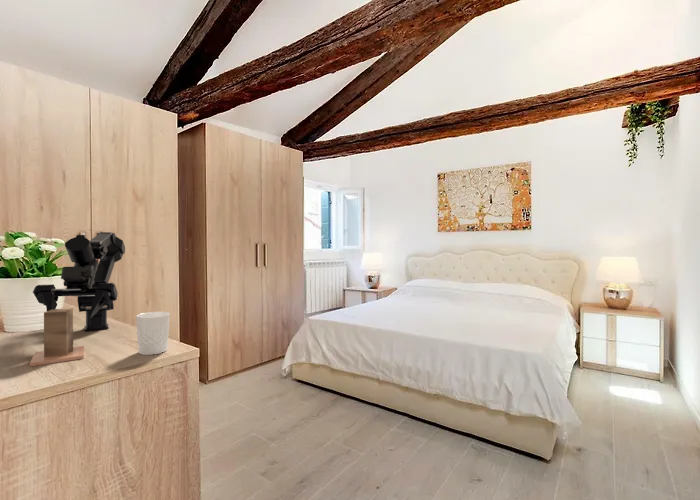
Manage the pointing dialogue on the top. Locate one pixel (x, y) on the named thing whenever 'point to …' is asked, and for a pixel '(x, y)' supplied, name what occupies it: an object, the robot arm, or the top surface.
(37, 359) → the terracotta tile
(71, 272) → the robot arm
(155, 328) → the white cup
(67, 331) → the walnut block
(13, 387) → the top surface
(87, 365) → the top surface
